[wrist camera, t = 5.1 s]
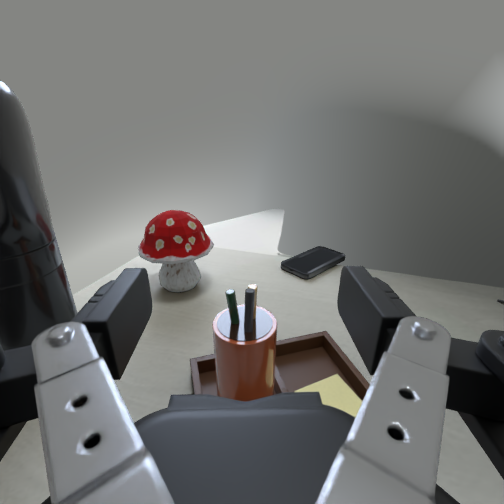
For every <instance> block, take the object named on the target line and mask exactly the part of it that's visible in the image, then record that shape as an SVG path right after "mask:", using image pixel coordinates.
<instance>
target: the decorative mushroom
mask: <svg viewBox="0 0 504 504" xmlns="http://www.w3.org/2000/svg"><path fill="white" fill-rule="evenodd" d="M213 245H214V244H213V242H212V241H211V239H210V238H209V237H208V235H207V234H206V233H205V230H204V227H203V225H202V224H201V223H200V221H199V220H198V219H197V218H196V217H195V216H193V215H192V214H190V213H188V212H184V211H180V210H170V211H166V212H163V213H160V214H159V215H157V216H156V217H155V218H153V219H152V220H151V221H150V222H149V224H148V225H147V227H146V229H145V235H144V239H143V240H142V242H141V244H140V245H139V255H140V257H141V258H143V259H145V260H147V261H150V262H152V263H162V267H161V269H160V272H159V279H160V284H161V285H162V286H163V287H164V288H165V289H167V290H169V291H170V292H183V291H188V290H190V289H192V288H194V287H195V286H196V284H197V283H198V281H199V279H200V278H201V274H200V271H199V269H198V267H197V265H196V263H195V262H194V260H196V259H198V258H201V257H203V256H205V255H207V254H208V253H209V252H210V250H211V249H212V248H213Z"/></svg>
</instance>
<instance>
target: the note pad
mask: <svg viewBox="0 0 504 504" xmlns="http://www.w3.org/2000/svg"><path fill="white" fill-rule="evenodd" d="M295 392H319V393H320V397H321V400H322V404H324V405H328V406H332V407H335V408H337V409H340V410H342V411H344V412H346V413H348V414H350V415H352V416H354V417H355V418H356V415H357V413H358V411H359V408H360V406H361V404H362V402H363V401H362V400H361V399H360V398H359V397H358V396H357V395H356V394H355V393H354V392H353V391H352V389H351V388H350V387H349V386H348V385H347V384H346V383H345V382H344V381H343V380H342V379H341V378H340V376H339V375H338V374H336V375H333V376H331V377H328V378H326V379H323V380H321V381H318V382H316V383H313V384H311V385H308V386H306V387H303V388H301V389H298V390H296V391H295Z"/></svg>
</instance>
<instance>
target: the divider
mask: <svg viewBox="0 0 504 504" xmlns="http://www.w3.org/2000/svg"><path fill="white" fill-rule="evenodd" d="M274 390H275V392H276V394H279V393H283V392H289V391H288V389H287V387H286V385H285V383H284V381H283V379H282V377H281V375H280V373H279V371H278V369H277V367H276V365H275V383H274Z"/></svg>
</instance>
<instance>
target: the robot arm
mask: <svg viewBox="0 0 504 504" xmlns="http://www.w3.org/2000/svg"><path fill="white" fill-rule="evenodd" d="M338 311H339V314H340V316H341V318H342V320H343V322H344V324H345V326H346V328H347V330H348V332H349V334H350V336H351V338H352V340H353V342H354V344H355V346H356V348H357V350H358V352H359V354H360V356H361V357H362V359H363V361H364V363H365V365H366V367H367V369H368V371H369V373H370V375H374V376H373V378H372V381H371V383H370V385H369V388H368V390H367V392H366V395H365V397H364V399H363V402H362V404H361V406H360V408H359V411H358V413H357V415H356V418H355V417H354V416H352V415H350V414H348V413H346V412H344V411H342V410H340V409H337V408H335V407H332V406H328V405H324V404H322V400H321V397H320V393H319V392H283V393H279V394H275V395H271V396H267V397H263V398H259V399H256V400H252V401H246V402H244V401H238V400H234V399H229V398H224V397H219V396H214V395H210V394H192V395H171V398H170V401H169V405H168V408H165V409H162V410H159V411H156V412H153V413H151V414H149V415H147V416H145V417H143V418H142V419H140V420H138V421H137V422H135V423H134V422H133V420H132V418H131V416H130V414H129V412H128V410H127V407H126V405H125V403H124V401H123V399H122V397H121V395H120V392H119V390H118V388H117V386H116V384H115V382H114V380H120V378H121V376H122V374H123V372H124V370H125V368H126V366H127V364H128V362H129V360H130V358H131V356H132V354H133V352H134V350H135V347H136V345H137V343H138V341H139V339H140V337H141V335H142V333H143V331H144V329H145V327H146V325H147V323H148V321H149V318H150V316H151V313H152V298H151V292H150V286H149V280H148V274H147V271H146V269H145V268H126V269H124V270H123V272H122V273H121V274H120V275H119V276H118V278H117V279H116V280H113V281H110V282H108V283H107V284H105V285H103V286H102V287H100V288H99V289H98V291H97V292H96V293H95V294H94V296H93V297H91V299H90V300H89V301H88V303H86V304H85V305H84V307H83V308H82V309H81V310H80V311H79V312H78V313H77V310H76V306H75V303H74V299H73V296H72V293H71V289H70V285H69V282H68V279H67V275H66V271H65V268H64V264H63V261H62V257H61V254H60V250H59V247H58V244H57V240H56V237H55V233H54V230H53V226H52V222H51V216H50V209H49V205H48V200H47V197H46V193H45V189H44V185H43V181H42V177H41V172H40V168H39V163H38V158H37V153H36V148H35V144H34V139H33V135H32V131H31V127H30V124H29V121H28V118H27V115H26V113H25V110H24V108H23V106H22V104H21V102H20V101H19V99H18V98H17V96H16V94H15V93H14V92H13V91H12V90H11V89H10V88H9V86H7V85H6V84H5V83H3V82H2V81H0V461H1V460H2V458H3V457H4V455H5V454H6V452H7V451H8V449H9V448H10V446H11V445H12V443H13V442H14V440H15V439H16V437H17V436H18V434H19V433H20V431H21V430H22V428H23V427H24V425H25V423H26V422H27V421H29V420H33V419H36V418H39V424H40V430H41V437H42V444H43V450H44V457H45V464H46V470H47V477H48V483H49V490H50V496H49V497H48V498H47V499H46V500H45V501H44V502H43V503H41V504H460V503H459V502H457V501H456V500H455V499H454V498H453V497H451V496H450V495H449V494H448V493H447V492H445V491H444V490H443V489H442V488H441V487H440V486H438V485H437V484H436V479H437V472H438V464H439V456H440V448H441V440H442V433H443V425H444V417H445V409H450V410H455V411H458V413H459V414H460V416H461V417H462V419H463V420H464V422H465V423H466V425H467V426H468V428H469V429H470V431H471V432H472V434H473V435H474V437H475V438H476V439H477V441H478V442H479V444H480V445H481V447H482V448H483V450H484V451H485V453H486V454H487V456H488V457H489V459H490V460H491V462H492V463H493V465H494V466H495V468H496V469H497V470H498V472H499V473H500V475H501V476H502V478H503V479H504V331H499V330H488V331H485V332H483V333H482V335H481V337H480V340H479V342H478V343H477V342H471V341H466V340H461V339H455V338H451V335H450V333H449V332H448V330H447V329H446V328H444V327H443V326H442V325H440V324H438V323H437V322H435V321H432V320H430V319H427V318H423V317H417V316H416V315H415V314H414V313H413V312H412V311H411V310H410V309H409V308H408V306H407V305H406V304H405V303H404V302H403V301H402V300H401V299H399V297H398V295H397V294H396V293H394V291H393V290H392V289H391V288H390V287H389V285H388V284H386V283H385V282H383V281H381V280H380V279H378V278H373V277H372V276H371V275H370V274H369V272H368V271H367V270H366V269H365V268H364V267H363V266H344V267H343V268H342V272H341V278H340V286H339V293H338Z"/></svg>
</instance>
